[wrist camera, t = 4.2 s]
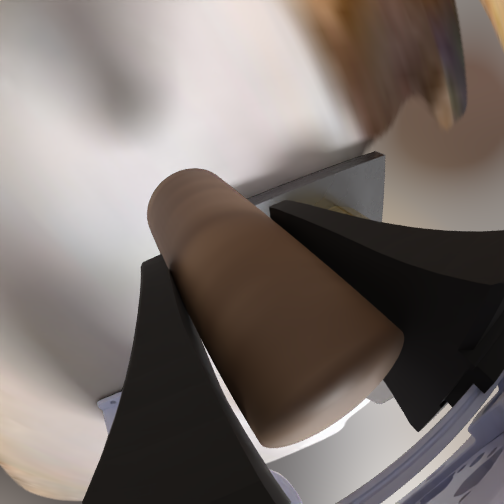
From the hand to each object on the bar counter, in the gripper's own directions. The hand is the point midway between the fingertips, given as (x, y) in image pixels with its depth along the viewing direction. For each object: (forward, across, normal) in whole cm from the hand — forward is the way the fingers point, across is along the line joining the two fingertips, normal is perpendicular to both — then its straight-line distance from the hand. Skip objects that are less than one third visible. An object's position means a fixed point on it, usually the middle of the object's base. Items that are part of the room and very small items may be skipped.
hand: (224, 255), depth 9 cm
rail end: (+3, 0, 0) cm, 3 cm away
